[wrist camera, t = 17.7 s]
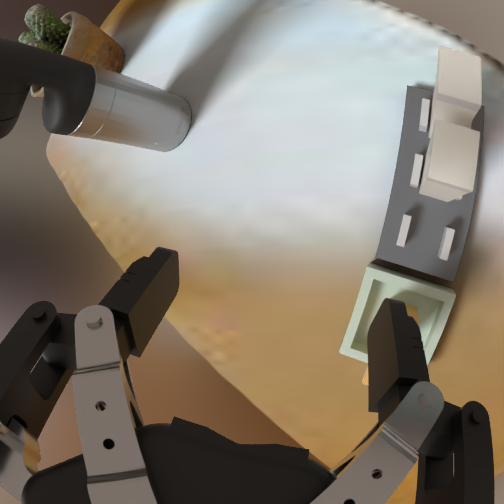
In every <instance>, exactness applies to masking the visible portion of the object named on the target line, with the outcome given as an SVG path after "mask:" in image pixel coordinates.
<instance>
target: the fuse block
mask: <svg viewBox="0 0 504 504" xmlns="http://www.w3.org/2000/svg"><path fill="white" fill-rule="evenodd" d="M433 93H434V91H430V90H426V89H421V88H417V87H412V86H408V85H407V93H406V103H405V111H404V119H403V126H402V133H401V140H400V147H399V153H398V159H397V164H396V170H395V175H394V180H393V185H392V190H391V195H390V200H389V204H388V209H387V213H386V217H385V222H384V226H383V230H382V234H381V238H380V242H379V245H378V249H377V253H376V258H379V259H382V260H386V261H389V262H392V263H395V264H398V265H402V266H405V267H408V268H411V269H414V270H418V271H421V272H424V273H427V274H430V275H433V276H436V277H439V278H442V279H445V280H449V281H452V282H454V280H455V277H456V274H457V270H458V267H459V264H460V260H461V257H462V253H463V249H464V245H465V241H466V237H467V233H468V229H469V225H470V220H471V215H472V210H473V205H474V200H475V194H476V189H477V182H478V176H479V168H480V160H481V151H482V140H483V127H484V106H482V105H481V107H480V109H479V111H478V112H477V114H476V115H475V117H474V119H473V120H472V122H471V124H470V125H469V127H468V128H469V129H472V130H475V131H478V132H480V140H479V150H478V159H477V167H476V175H475V181H474V187H473V192H471V193H467V194H465V195H463V196H460V197H458V198H456V199H454V200H451V201H449V202H446V201H442V200H439V199H436V198H433V197H429V196H426V195H422V194H419V191H420V186H421V180H422V175H423V169H424V163H425V157H426V153H427V149H428V146H429V143H430V139H431V138H428V135H429V127H430V118H431V108H432V100H433Z"/></svg>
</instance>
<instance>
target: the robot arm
mask: <svg viewBox="0 0 504 504" xmlns="http://www.w3.org/2000/svg"><path fill="white" fill-rule="evenodd" d="M32 84H35V85H38V86H41V87H43V88H44V97H43V108H42V117H43V123H44V126H45V128H46V130H47V131H49V132H50V133H54V134H61V135H69V136H76V137H83V138H90V139H96V140H103V141H109V142H114V143H120V144H126V145H131V146H136V147H141V148H146V149H151V150H156V151H162V152H166V151H170V150H172V149H174V148H175V147H177V146H178V145H179V144H180V143H181V142H182V141H183V139H184V138H185V136H186V134H187V132H188V130H189V127H190V122H191V110H190V106H189V104H188V102H187V101H186V100H185V99H183V98H181V97H179V96H177V95H174V94H172V93H169V92H167V91H165V90H162V89H160V88H157V87H155V86H152V85H149V84H147V83H144V82H141V81H139V80H136V79H133V78H130V77H128V76H125V75H122V74H119V73H116V72H113V71H110V70H107V69H104V68H101V67H98V66H94V65H91V64H88V63H85V62H82V61H79V60H76V59H73V58H70V57H68V56H64V55H61V54H58V53H54V52H50V51H47V50H44V49H40V48H37V47H34V46H31V45H27V44H24V43H21V42H17V41H13V40H9V39H2V38H0V139H1V138H3V137H5V136H6V135H7V134H9V133H10V131H11V130H12V129H13V127H14V126H15V124H16V122H17V120H18V118H19V115H20V112H21V110H22V107H23V105H24V102H25V100H26V97H27V95H28V92H29V90H30V88H31V86H32ZM178 288H179V259H178V252H177V251H175V250H171V249H167V248H162V247H157V248H156V249H155V251H154V252H153V253H152V254H151V255H150V257H145V256H143V257H142V258H140V259H138V260H136V261H135V262H133V263H132V264H131V265H130V267H129V268H128V269H127V270H126V272H125V273H124V274H123V275H122V276H121V277H120V280H118V281H117V282H116V283H115V285H114V286H113V287H112V288H111V289H110V291H109V292H108V293H107V294H106V296H105V297H104V298H103V299H102V301H101V302H100V303H99V304H98V305H92V306H89V307H86V308H84V309H83V310H81V311H80V312H79V313H78V315H77V314H63V313H57V311H56V308H55V306H54V305H53V304H52V303H50V302H47V301H40V302H37V303H34V304H33V305H31V306H30V307H29V308H28V309H27V310H26V311H25V312H24V314H23V315H22V316H21V318H20V319H19V320H18V321H17V323H16V324H15V325H14V327H13V328H12V329H11V331H10V332H9V333H8V335H7V336H6V337H5V338H4V340H3V341H2V342H1V344H0V486H1V487H2V488H3V489H5V490H6V491H7V492H9V493H10V494H11V495H12V496H14V497H15V498H16V499H18V500H19V501H21V504H384V503H385V502H386V501H387V500H388V499H389V497H390V496H391V495H392V494H393V492H394V491H395V490H396V489H397V487H398V486H399V485H400V483H401V482H402V481H403V479H404V478H405V477H406V475H407V474H408V473H409V471H410V470H411V468H412V467H413V466H414V464H415V463H416V461H417V459H418V477H417V491H416V501H415V504H494V462H493V448H492V437H491V428H490V421H489V415H488V412H487V410H486V409H485V407H484V406H483V405H482V404H480V403H479V402H476V401H470V402H467V403H466V404H465V405H464V406H463V407H462V408H460V407H458V406H456V405H453V404H451V403H448V402H446V401H444V398H443V395H442V393H441V391H440V390H439V389H438V388H437V387H436V386H435V385H434V384H432V383H430V380H429V374H428V368H427V362H426V357H425V351H424V350H423V348H424V346H423V341H421V339H422V337H421V332H420V327H419V326H418V324H417V323H416V321H415V319H414V318H413V317H411V316H408V314H407V310H406V305H405V302H404V301H399V300H395V299H390V298H385V299H384V300H383V302H382V304H381V306H380V308H379V310H378V312H377V313H376V315H375V317H374V319H373V321H372V323H371V325H370V327H369V330H368V335H367V351H368V385H369V412H378V422H377V423H376V424H375V425H374V427H373V428H372V429H371V430H370V431H369V432H368V433H367V435H366V436H365V437H364V438H363V439H362V440H361V441H360V442H359V443H358V444H357V446H356V447H355V448H354V449H353V450H352V451H351V452H350V453H349V454H348V455H347V456H346V457H345V458H344V459H343V460H341V461H340V462H339V463H338V464H337V465H336V466H335V467H334V468H332V469H331V470H330V471H329V470H328V469H327V468H326V467H324V466H323V465H321V464H320V463H319V462H317V461H315V460H313V459H311V458H308V455H309V449H302V448H296V447H289V446H284V445H279V444H260V445H259V444H238V443H235V442H233V441H231V440H229V439H227V438H225V437H224V436H222V435H220V434H218V433H216V432H215V431H213V430H211V429H209V428H207V427H205V426H202V425H198V424H195V423H192V422H189V421H186V420H183V419H180V418H177V417H174V418H173V421H172V423H171V424H168V423H158V424H150V425H145V424H144V420H143V417H142V415H141V412H140V409H139V406H138V403H137V399H136V395H135V391H134V387H133V382H132V378H131V374H130V369H129V365H128V361H127V358H128V357H129V355H130V354H131V355H134V356H137V357H140V356H141V354H142V353H143V351H144V349H145V347H146V346H147V344H148V342H149V341H150V339H151V337H152V335H153V334H154V332H155V330H156V329H157V327H158V325H159V323H160V322H161V320H162V318H163V317H164V315H165V313H166V312H167V310H168V308H169V307H170V305H171V303H172V302H173V300H174V298H175V297H176V295H177V292H178ZM41 355H42V357H41V358H40V356H41ZM39 358H40V360H39V361H38V359H39ZM37 361H38V363H37V364H36V362H37ZM35 364H36V366H35V368H34V369H33V367H34V365H35ZM32 369H33V371H32V372H31V370H32ZM74 370H77V371H74ZM30 372H31V374H30ZM71 376H72V381H73V391H74V401H75V409H76V416H77V423H78V429H79V435H80V441H81V446H82V451H83V454H80V455H78V456H76V457H73V458H71V459H68V460H66V461H64V462H61V463H59V464H56V465H54V466H51V467H49V468H46V469H44V470H41V471H39V469H38V463H39V462H40V460H41V454H40V446H39V442H38V440H37V439H38V437H39V435H40V433H41V431H42V429H43V427H44V425H45V423H46V422H47V420H48V418H49V416H50V414H51V412H52V410H53V408H54V406H55V404H56V402H57V400H58V399H59V397H60V395H61V393H62V392H63V390H64V388H65V386H66V384H67V383H68V381H69V379H70V377H71ZM417 452H418V453H419V455H418V454H417ZM453 453H454V477H453ZM418 457H419V458H418Z"/></svg>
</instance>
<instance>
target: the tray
mask: <svg viewBox="0 0 504 504" xmlns="http://www.w3.org/2000/svg"><path fill="white" fill-rule="evenodd" d="M455 297H456V294H455V292H454V291H453V289H451V288H448V287H445V286H442V285H439V284H436V283H433V282H430V281H427V280H424V279H421V278H417V277H414V276H411V275H408V274H405V273H402V272H399V271H395V270H392V269H389V268H386V267H383V266H379V265H376V264H373V263H370V264H369V265H368V266H367V269H366V272H365V276H364V279H363V282H362V286H361V289H360V292H359V295H358V299H357V302H356V305H355V308H354V311H353V314H352V317H351V320H350V323H349V326H348V329H347V332H346V334H345V337H344V340H343V343H342V346H341V348H340V351H339V353H341V354H343V355H346V356H349V357H352V358H355V359H357V360H360V361H363V362H366V363H368V351H367V335H368V330H369V327H370V325H371V323H372V321H373V319H374V317H375V315H376V313H377V312H378V310H379V308H380V306H381V304H382V302H383V300H384V299H385V298H391V299H395V300H399V301H404V302H405V303H406V304H409V305H412V306H415V307H417V316H418V326H419V327H420V332H421V337H422V339H421V341H423V346H424V348H423V350H424V351H425V357H426V362H427V366H428V363H429V361H430V359H431V357H432V355H433V353H434V350H435V348H436V346H437V344H438V341H439V339H440V337H441V334H442V332H443V329H444V327H445V324H446V322H447V319H448V317H449V314H450V311H451V309H452V306H453V303H454V300H455Z"/></svg>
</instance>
